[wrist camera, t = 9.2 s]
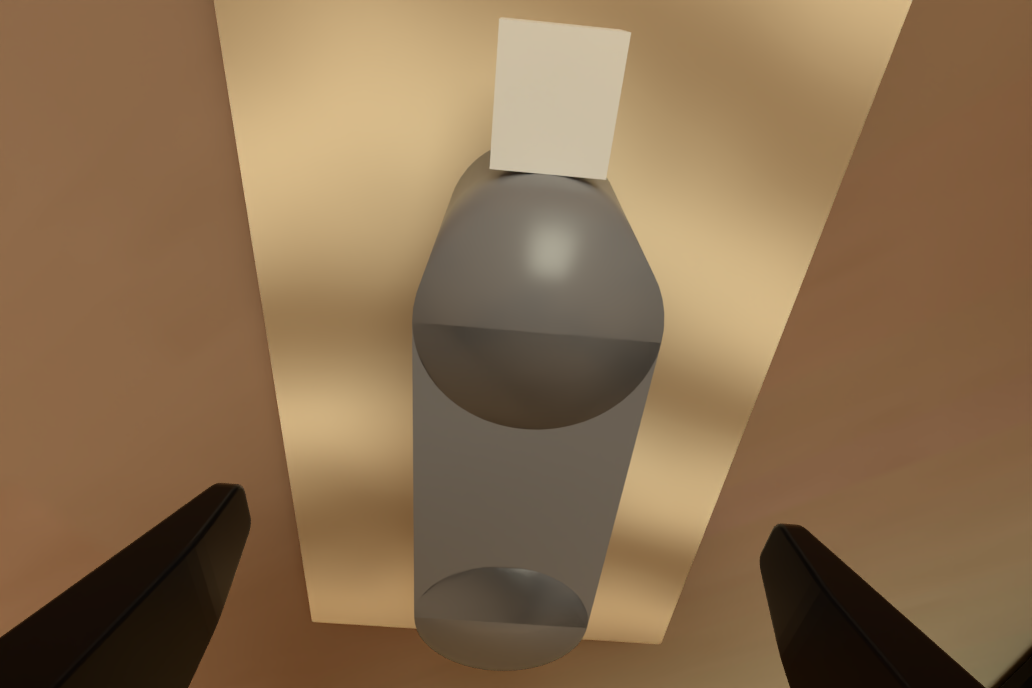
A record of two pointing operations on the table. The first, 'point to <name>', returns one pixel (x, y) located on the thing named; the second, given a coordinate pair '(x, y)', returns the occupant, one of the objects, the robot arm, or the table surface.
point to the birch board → (422, 206)
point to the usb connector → (529, 361)
